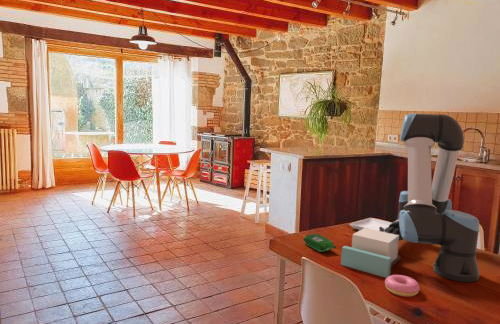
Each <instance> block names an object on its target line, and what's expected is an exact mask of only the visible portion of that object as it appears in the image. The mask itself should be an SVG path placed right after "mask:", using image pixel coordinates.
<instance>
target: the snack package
mask: <svg viewBox="0 0 500 324" xmlns="http://www.w3.org/2000/svg"><path fill="white" fill-rule="evenodd" d="M302 241H304V243H305V245H306V246H307V247H309V248H311V249H313V250H315V251H317V252H319V253H323V252H328V251H331V249H336V248H337V246H336V245H334V243H333V241H332V240H330V239H329V238H327V237H325V236H322V235H321V234H318V233H311V234H306V235H305V236H304V238H303V240H302Z"/></svg>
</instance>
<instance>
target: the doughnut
mask: <svg viewBox="0 0 500 324" xmlns="http://www.w3.org/2000/svg"><path fill="white" fill-rule="evenodd" d="M384 285H385V288H386V289H387V291H389V292H390V293H392V294H394V295H396V296H400V297H407V298H409V297H414V296H416V295H417V294H419V292H420V289H421V287H420V284H419V283H418V281H417V280H416V279H414V278H413V277H410V276H407V275H403V274H392V275H391V274H390V276H389V277H387V278H385V280H384Z"/></svg>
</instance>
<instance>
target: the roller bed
mask: <svg viewBox="0 0 500 324" xmlns="http://www.w3.org/2000/svg"><path fill="white" fill-rule="evenodd" d="M400 261H401V255H399V254H397V258H396V259H395V260H394V261H392V262H391V268H390V269H392V268H393V266H395V265H396V264H398V262H400Z"/></svg>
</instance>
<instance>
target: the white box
mask: <svg viewBox="0 0 500 324" xmlns="http://www.w3.org/2000/svg"><path fill="white" fill-rule="evenodd" d="M351 240H352V241H351V247H352V248H356V249H360V250H364V251H368V252H372V253H375V254H379V255H383V256H387V257H391V262H392V261H394V260H395V259H396V258H397V255H399V254H398V253H399V251H398V250H399V242H400V241H399V235H395V234H390V233H386V232H381V231H377V230H372V229H367V228H363V229H362V230H357V231H356V232H354V233H353V234H352V238H351Z"/></svg>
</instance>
